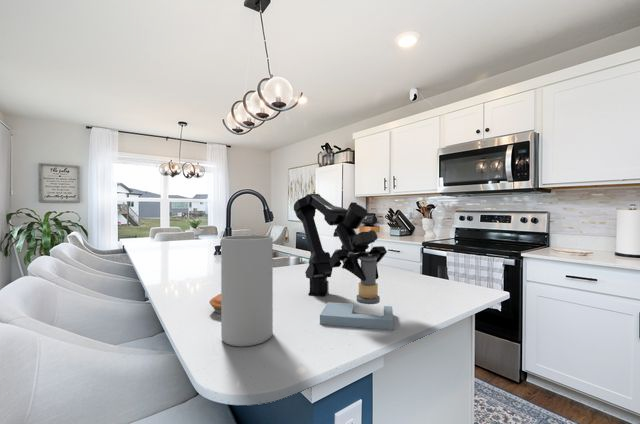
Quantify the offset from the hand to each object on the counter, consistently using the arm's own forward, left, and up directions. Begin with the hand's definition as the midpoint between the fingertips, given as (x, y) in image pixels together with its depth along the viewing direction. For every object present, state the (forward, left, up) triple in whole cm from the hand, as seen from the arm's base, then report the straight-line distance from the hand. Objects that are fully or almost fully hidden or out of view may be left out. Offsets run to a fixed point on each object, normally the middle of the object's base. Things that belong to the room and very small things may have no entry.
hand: (371, 279), depth 87 cm
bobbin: (-1, +1, -7) cm, 7 cm away
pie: (-43, -1, -12) cm, 45 cm away
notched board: (-4, -1, -12) cm, 12 cm away
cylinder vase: (-30, -19, -12) cm, 37 cm away
